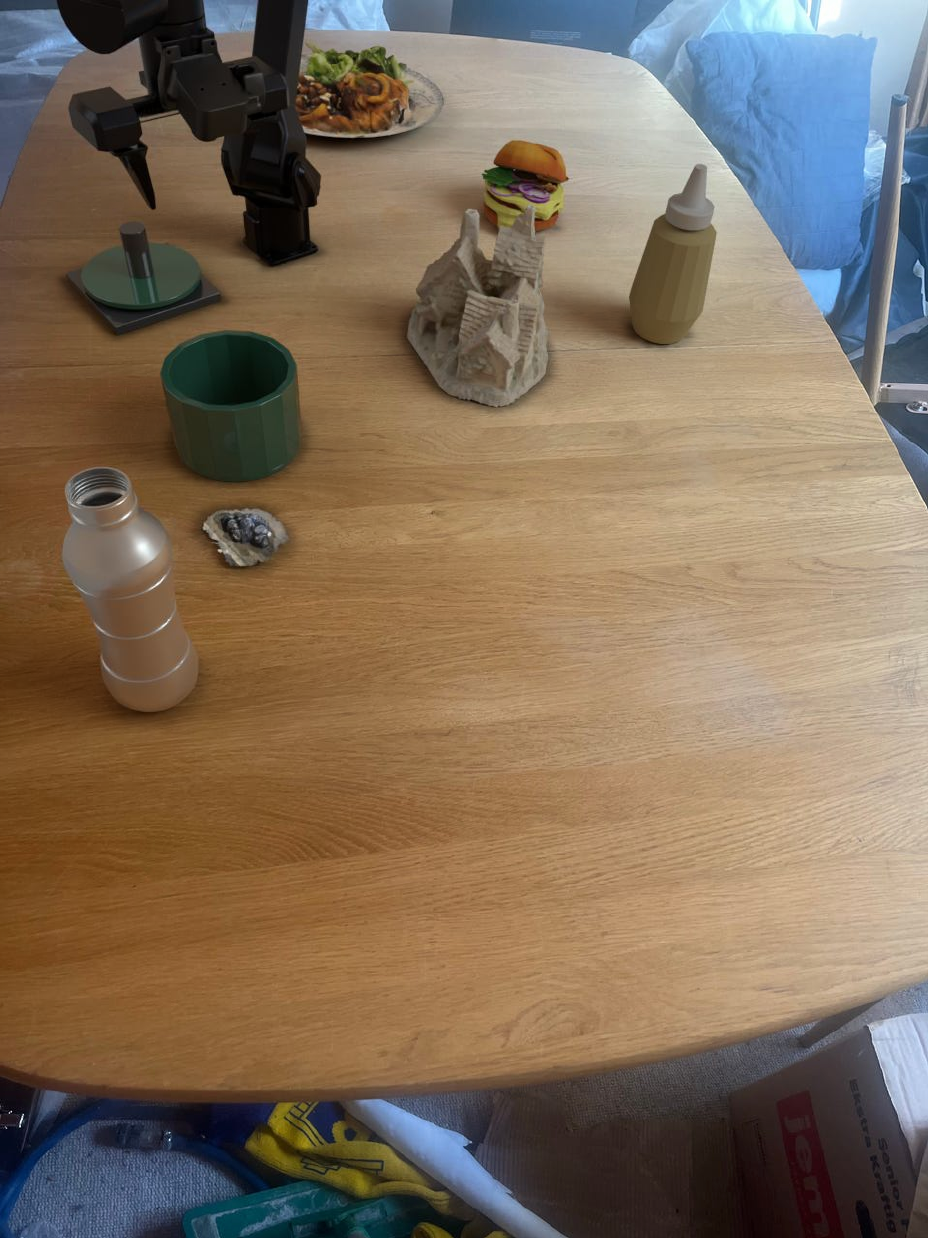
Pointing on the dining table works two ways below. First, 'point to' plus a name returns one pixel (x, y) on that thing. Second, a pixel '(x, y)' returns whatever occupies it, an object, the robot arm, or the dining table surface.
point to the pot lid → (140, 272)
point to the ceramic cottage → (484, 314)
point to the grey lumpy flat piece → (245, 535)
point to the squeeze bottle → (675, 265)
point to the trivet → (139, 318)
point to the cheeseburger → (525, 184)
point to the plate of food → (362, 94)
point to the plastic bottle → (128, 591)
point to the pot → (233, 404)
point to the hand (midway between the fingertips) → (196, 195)
